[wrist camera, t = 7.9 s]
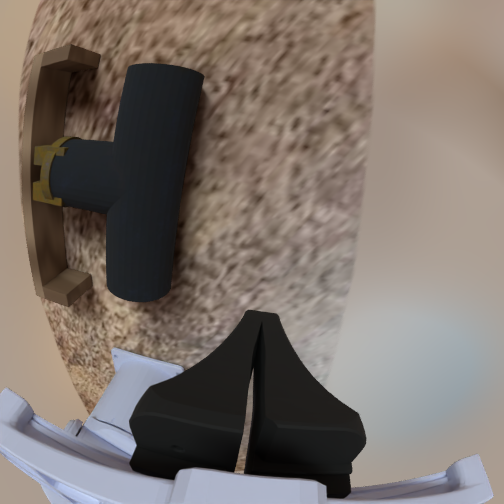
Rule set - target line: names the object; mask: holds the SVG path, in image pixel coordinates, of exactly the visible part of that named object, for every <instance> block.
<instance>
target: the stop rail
mask: <svg viewBox="0 0 504 504" xmlns="http://www.w3.org/2000/svg"><path fill="white" fill-rule="evenodd" d="M99 59H100V54H97V53H95V52H92V51H89V50H86V49H84V48H81V47H78V46H75V45H72V44H70V45H67V46H63V47H60V48H57V49H53V50H50V51H47V52H44V53H41V54H39V55H36V56H34V60H33V65H32V69H31V74H30V80H29V86H28V92H27V99H26V106H25V115H24V125H23V140H22V199H23V213H24V224H25V233H26V241H27V248H28V254H29V261H30V266H31V272H32V277H33V281H34V286H35V291H36V295H37V296H39V297H42V298H45V299H47V300H50V301H53V302H55V303H58V304H61V305H64V306H67V307H69V306H71V305H72V304H73V303H74V302H75V301H76V300H77V299H78V298H79V297H80V296H81V295H83V294H84V293H85V292H86V291H87V290H88V289H89V288H90V287H92V279H91V274H88V273H84V272H80V271H76V270H73V269H69V268H67V260H66V252H65V242H64V231H63V216H62V207H60V206H55V205H52V204H49V203H45V202H40V201H35V200H33V182H36V181H40V174H41V167H42V165H34V152H35V146H42V145H52V144H53V143H54V142H56V141H57V140H58V139H60V138H62V137H63V132H64V121H65V111H66V103H67V96H68V89H69V83H70V77H71V73H72V72H77V71H82V70H88V69H94V68H98V64H99Z"/></svg>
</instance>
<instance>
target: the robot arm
mask: <svg viewBox="0 0 504 504" xmlns="http://www.w3.org/2000/svg"><path fill="white" fill-rule="evenodd" d="M111 353H112V358H113V362H114V366H115V371H116V374H115V376H114V377H113V379H112V380H111V382H110V384H109V385H108V387H107V388H106V390H105V392H104V393H103V395H102V396H101V398H100V400H99V401H98V403H97V405H96V406H95V408H94V410H93V411H92V413H91V415H90V416H89V417H88V418H87V420H86V421H85V423H84V424H83V426H82V423H83V422H82V421H80V420H79V419H76V420H70V421H69V422H68V424H67V425H66V427H65V428H64V430H63V429H61V428H59V427H57V426H55V425H54V424H52V423H50V422H48V421H46V420H45V419H43V418H41V417H40V416H38V415H36V414H35V413H34V411H33V409H32V408H31V406H30V405H29V404H28V402H27V401H26V400H25V399H24V398H22V397H21V396H19V395H18V394H16V393H15V392H13V391H12V390H10V389H9V388H5V389H4V390H3V391H2V393H1V394H0V453H1V454H2V455H3V456H4V457H5V458H6V459H7V460H8V461H10V462H11V463H12V464H14V465H15V466H16V467H18V468H19V469H20V470H22V471H23V472H24V473H26V474H27V475H28V476H30V477H31V478H33V479H34V480H36V481H37V482H38V483H40V485H41V487H42V489H43V491H44V492H45V494H46V496H47V498H48V499H49V501H50V503H51V504H484V503H486V502H487V501H488V500H490V499H491V498H493V496H494V495H493V492H492V489H491V486H490V483H489V480H488V477H487V475H486V472H485V469H484V467H483V464H482V461H481V459H480V456H479V454H475V455H472V456H469V457H465V458H463V459H460V460H458V461H456V462H455V463H453V464H452V465H451V466H450V467H449V468H448V469H447V470H446V471H443V472H439V473H435V474H431V475H427V476H423V477H419V478H414V479H410V480H405V481H399V482H394V483H387V484H381V485H373V486H365V487H355V488H351V485H350V476H349V474H351V473H352V463H351V462H352V461H353V460H354V459H355V458H356V457H357V455H358V454H359V453H360V452H361V451H362V450H363V448H364V446H365V444H366V435H365V430H364V427H363V424H362V421H361V419H360V416H359V414H358V413H357V412H355V411H354V410H353V409H351V408H349V407H348V406H347V405H345V404H343V403H342V402H341V401H339V400H338V399H337V398H336V397H334V396H333V395H332V394H331V393H329V392H328V391H327V390H326V389H325V388H324V387H323V386H322V385H321V384H320V383H319V382H318V381H317V380H316V379H315V378H314V377H313V376H312V374H311V373H310V372H309V371H308V370H307V368H306V367H305V366H304V364H303V363H302V361H301V360H300V359H299V357H298V355H297V354H296V352H295V351H294V349H293V347H292V345H291V343H290V342H289V340H288V338H287V336H286V334H285V331H284V329H283V327H282V324H281V322H280V319H279V316H278V315H277V314H275V313H268V312H261V311H255V310H247V311H246V312H245V314H244V316H243V318H242V319H241V321H240V322H239V324H238V325H237V327H236V328H235V329H234V330H233V332H232V333H231V334H230V335H229V336H228V337H227V338H226V339H225V341H224V342H223V343H222V344H221V345H220V346H219V347H218V348H216V349H215V350H214V351H213V352H212V353H211V354H209V355H208V356H207V357H206V358H204V359H203V360H201V361H200V362H199V363H197V364H196V365H194V366H193V367H191V368H189V369H188V370H186V371H184V368H183V367H182V366H179V365H175V364H171V363H167V362H163V361H160V360H156V359H152V358H148V357H145V356H141V355H138V354H135V353H131V352H128V351H125V350H121V349H118V348H113V349H112V350H111ZM116 355H117V356H116ZM253 368H254V374H253V412H252V421H251V428H250V436H249V443H248V449H247V456H246V463H245V469H244V474H240V473H234V471H235V467H236V463H237V458H238V454H239V449H240V445H241V440H242V436H243V430H244V423H245V416H246V406H247V397H248V388H249V383H250V379H251V375H252V372H253ZM179 373H180V374H179Z"/></svg>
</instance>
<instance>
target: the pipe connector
mask: <svg viewBox="0 0 504 504" xmlns="http://www.w3.org/2000/svg"><path fill="white" fill-rule="evenodd" d="M203 80H204V75H203V74H201V73H199V72H197V71H194V70H191V69H188V68H184V67H180V66H174V65H167V64H155V63H143V64H135V65H131V66H129V67H128V70H127V74H126V78H125V83H124V87H123V92H122V96H121V101H120V106H119V112H118V117H117V123H116V129H115V136H114V142H108V141H96V140H82V139H81V138H79V137H62V138H60V139H58V140H57V141H56V142H54V143H53V144H52V145H42V146H35V152H34V165H42V167H41V174H40V181H36V182H33V200H35V201H40V202H45V203H49V204H52V205H55V206H60V207H68V206H70V207H75V208H79V209H84V210H89V211H93V212H98V213H103V214H107V224H106V279H107V287H108V289H109V291H110V292H111V293H112V294H114V295H115V296H117V297H119V298H121V299H124V300H127V301H132V302H149V301H154V300H157V299H160V298H162V297H164V296H165V295H167V293H168V292H169V291H170V289H171V279H172V268H173V258H174V249H175V240H176V232H177V224H178V216H179V209H180V202H181V195H182V188H183V182H184V176H185V170H186V164H187V158H188V152H189V147H190V141H191V136H192V131H193V126H194V121H195V116H196V112H197V107H198V102H199V98H200V93H201V89H202V85H203Z"/></svg>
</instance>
